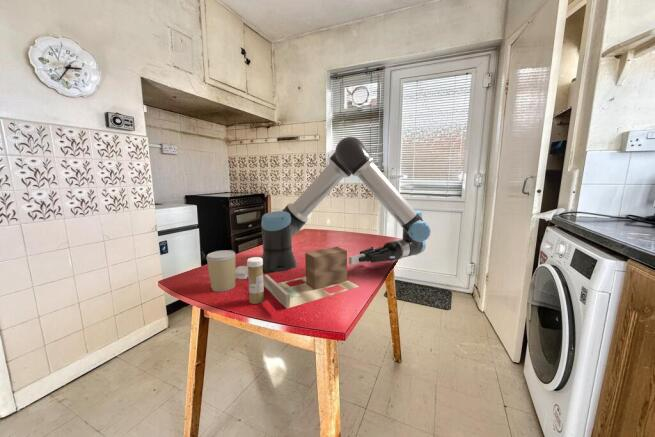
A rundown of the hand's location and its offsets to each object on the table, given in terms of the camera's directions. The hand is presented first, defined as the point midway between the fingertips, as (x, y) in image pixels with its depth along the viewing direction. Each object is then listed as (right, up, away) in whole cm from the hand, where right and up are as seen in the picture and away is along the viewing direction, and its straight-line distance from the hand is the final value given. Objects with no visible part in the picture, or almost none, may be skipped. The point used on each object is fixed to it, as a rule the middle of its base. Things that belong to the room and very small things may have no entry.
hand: (350, 260), depth 93 cm
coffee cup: (-45, -9, -3) cm, 46 cm away
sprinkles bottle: (-30, -10, -14) cm, 34 cm away
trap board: (-14, -9, -7) cm, 18 cm away
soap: (-42, -7, +8) cm, 44 cm away
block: (-9, -7, -4) cm, 12 cm away
